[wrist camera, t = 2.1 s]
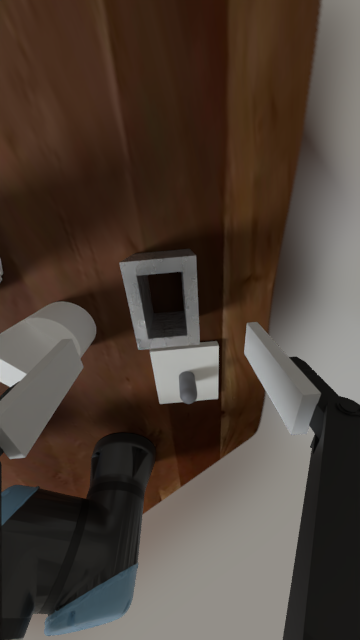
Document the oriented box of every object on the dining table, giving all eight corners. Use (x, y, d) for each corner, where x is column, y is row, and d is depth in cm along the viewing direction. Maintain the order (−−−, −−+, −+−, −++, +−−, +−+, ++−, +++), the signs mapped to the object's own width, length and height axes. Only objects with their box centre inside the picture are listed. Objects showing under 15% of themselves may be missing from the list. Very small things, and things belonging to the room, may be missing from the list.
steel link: (193, 318, 31) (199, 344, 24) (146, 322, 31) (138, 349, 24) (189, 248, 26) (196, 255, 19) (133, 253, 26) (119, 262, 19)
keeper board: (216, 392, 39) (225, 424, 33) (160, 398, 39) (157, 430, 33) (216, 340, 33) (227, 366, 27) (150, 347, 33) (145, 374, 27)
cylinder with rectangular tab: (107, 327, 31) (73, 378, 21) (76, 357, 34) (31, 417, 23) (59, 289, 28) (-10, 326, 17) (29, 325, 31) (-49, 377, 20)
